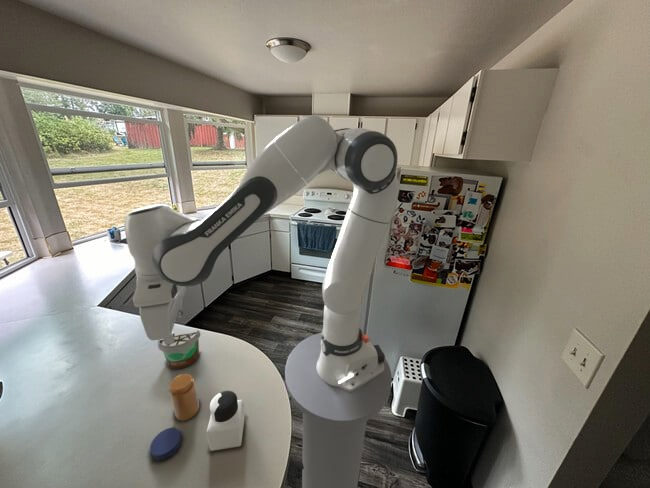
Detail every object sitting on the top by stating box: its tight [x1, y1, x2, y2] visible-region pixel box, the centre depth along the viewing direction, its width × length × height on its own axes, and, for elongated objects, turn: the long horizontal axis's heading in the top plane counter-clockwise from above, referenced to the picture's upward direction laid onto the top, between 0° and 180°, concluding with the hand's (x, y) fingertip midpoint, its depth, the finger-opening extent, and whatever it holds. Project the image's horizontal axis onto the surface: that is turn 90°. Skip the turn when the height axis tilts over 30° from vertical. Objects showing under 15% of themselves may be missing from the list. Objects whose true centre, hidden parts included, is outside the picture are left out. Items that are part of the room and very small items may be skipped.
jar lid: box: [149, 427, 182, 461], centre depth 60 cm, size 6×6×2 cm
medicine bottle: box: [206, 390, 245, 452], centre depth 61 cm, size 7×7×12 cm
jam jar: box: [168, 373, 200, 421], centre depth 66 cm, size 6×6×11 cm
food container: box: [157, 329, 201, 370], centre depth 81 cm, size 12×6×10 cm, turn 114°
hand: (174, 328), depth 60 cm, fingers open, 8 cm apart
